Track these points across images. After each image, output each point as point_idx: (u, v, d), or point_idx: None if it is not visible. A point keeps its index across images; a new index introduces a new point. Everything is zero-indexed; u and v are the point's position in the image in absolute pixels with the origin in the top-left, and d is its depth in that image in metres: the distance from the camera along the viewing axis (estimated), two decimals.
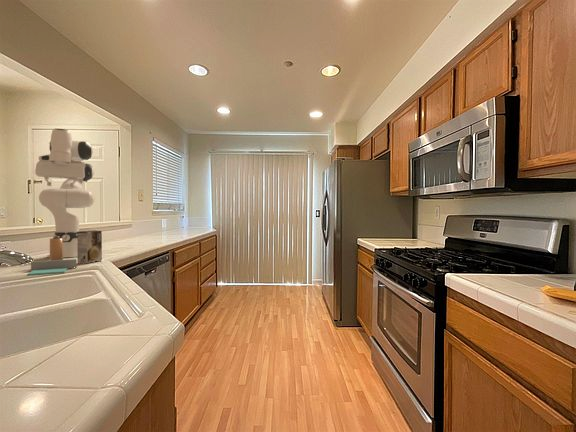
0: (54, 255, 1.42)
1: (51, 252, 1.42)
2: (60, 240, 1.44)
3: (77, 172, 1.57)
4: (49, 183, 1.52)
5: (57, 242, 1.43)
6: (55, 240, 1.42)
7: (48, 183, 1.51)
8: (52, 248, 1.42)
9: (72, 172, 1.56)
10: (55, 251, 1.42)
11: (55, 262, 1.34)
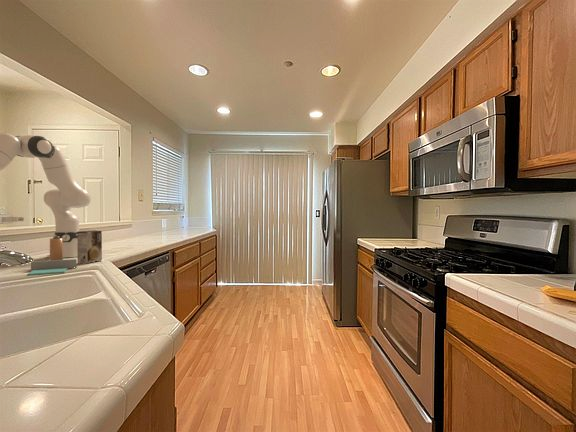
0: (54, 255, 1.42)
1: (51, 252, 1.42)
2: (60, 240, 1.44)
3: None
4: None
5: (57, 242, 1.43)
6: (55, 240, 1.42)
7: None
8: (52, 248, 1.42)
9: None
10: (55, 251, 1.42)
11: (55, 262, 1.34)
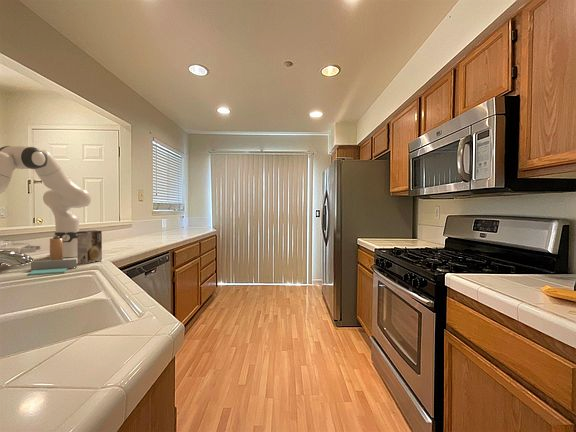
0: (54, 255, 1.42)
1: (51, 252, 1.42)
2: (60, 240, 1.44)
3: None
4: (37, 249, 1.45)
5: (57, 242, 1.43)
6: (55, 240, 1.42)
7: (37, 249, 1.45)
8: (52, 248, 1.42)
9: None
10: (55, 251, 1.42)
11: (55, 262, 1.34)
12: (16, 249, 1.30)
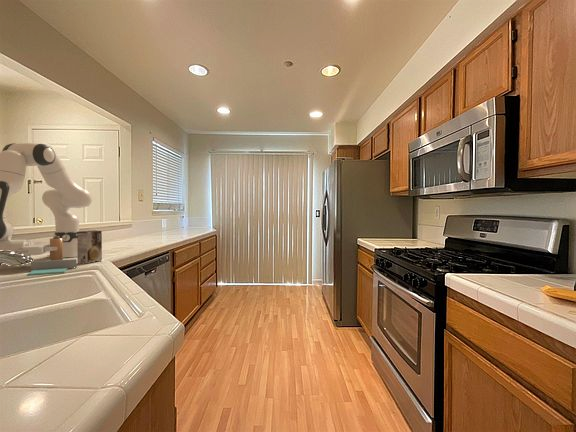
0: (54, 254, 1.42)
1: (51, 252, 1.42)
2: (60, 240, 1.44)
3: None
4: None
5: (57, 242, 1.43)
6: (55, 240, 1.42)
7: None
8: None
9: None
10: (55, 251, 1.42)
11: (55, 262, 1.34)
12: (39, 248, 1.34)
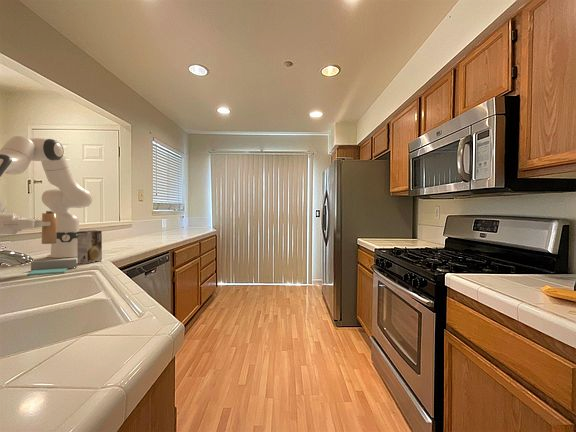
0: (46, 231, 1.29)
1: (43, 228, 1.29)
2: (53, 215, 1.31)
3: None
4: None
5: (50, 217, 1.30)
6: (48, 215, 1.29)
7: None
8: None
9: None
10: (47, 226, 1.29)
11: (55, 262, 1.34)
12: (30, 221, 1.20)
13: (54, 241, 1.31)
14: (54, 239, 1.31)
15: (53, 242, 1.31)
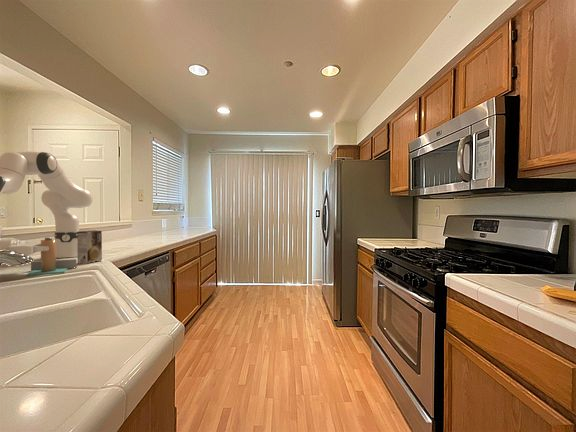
0: (45, 258, 1.26)
1: (42, 255, 1.26)
2: (52, 242, 1.28)
3: None
4: None
5: (49, 245, 1.27)
6: (47, 242, 1.26)
7: None
8: None
9: None
10: (46, 254, 1.26)
11: None
12: (29, 247, 1.18)
13: (53, 268, 1.28)
14: (53, 266, 1.28)
15: (52, 269, 1.28)
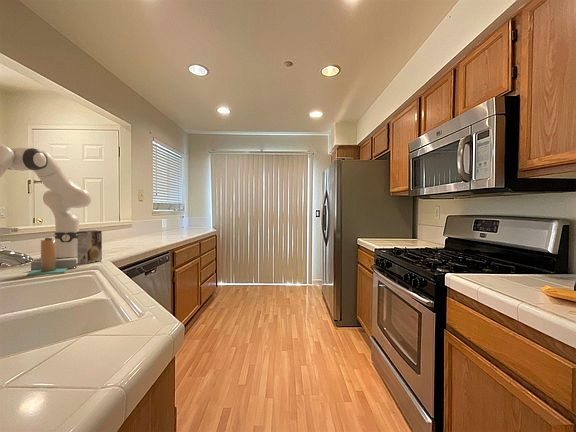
0: (45, 258, 1.26)
1: (42, 255, 1.26)
2: (53, 242, 1.28)
3: None
4: None
5: (49, 245, 1.27)
6: (47, 242, 1.26)
7: None
8: (44, 250, 1.26)
9: None
10: (47, 254, 1.26)
11: None
12: None
13: (53, 268, 1.28)
14: (53, 266, 1.28)
15: (52, 269, 1.28)
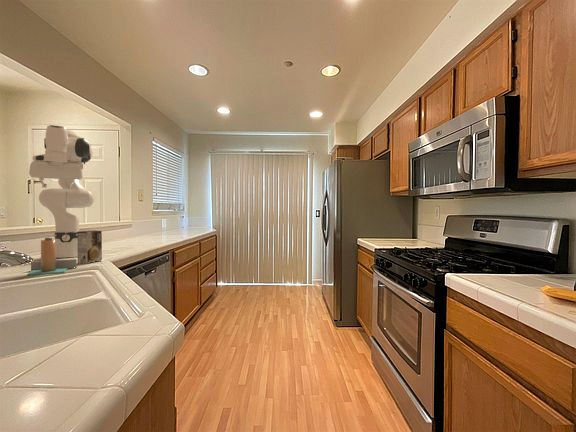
0: (45, 258, 1.26)
1: (42, 255, 1.26)
2: (53, 242, 1.28)
3: (74, 173, 1.47)
4: (44, 185, 1.42)
5: (49, 245, 1.27)
6: (47, 242, 1.26)
7: (43, 185, 1.42)
8: (44, 250, 1.26)
9: (69, 173, 1.46)
10: (47, 254, 1.26)
11: None
12: None
13: (53, 268, 1.28)
14: (53, 266, 1.28)
15: (52, 269, 1.28)
